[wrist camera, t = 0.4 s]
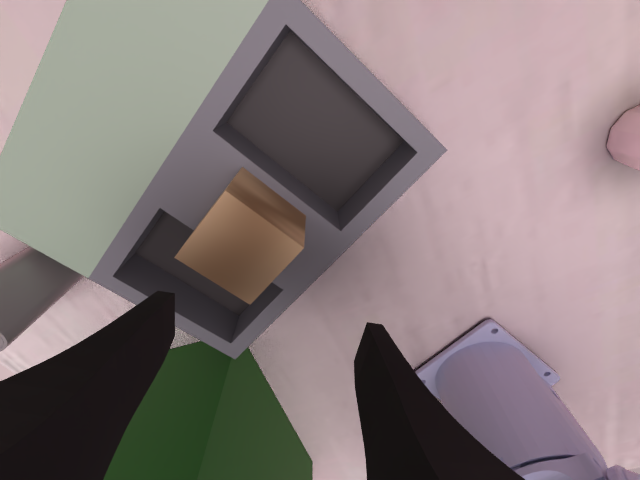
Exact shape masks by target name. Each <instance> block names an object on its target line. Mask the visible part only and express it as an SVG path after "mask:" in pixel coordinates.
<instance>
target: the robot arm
mask: <svg viewBox="0 0 640 480" xmlns="http://www.w3.org/2000/svg"><path fill="white" fill-rule="evenodd" d="M492 329H494V330H492ZM174 336H175V293H170V292H164V291H156V292H155V293H153V294H152V295H151V296H149V297H148V298H146V299H145V300H143V301H142V302H141V303H139V304H138V305H136V306H135V307H133V308H132V309H131V310H129V311H128V312H126V313H125V314H123V315H122V316H120V317H119V318H117V319H116V320H114V321H113V322H111V323H110V324H109V325H107V326H105V327H104V328H102V329H101V330H99V331H97V332H96V333H94V334H93V335H91V336H89V337H88V338H86V339H84V340H83V341H81V342H79V343H78V344H76V345H74V346H72V347H71V348H69V349H67V350H65V351H63V352H61V353H59V354H58V355H56V356H54V357H52V358H50V359H48V360H46V361H44V362H42V363H40V364H38V365H35V366H33V367H31V368H29V369H27V370H24V371H22V372H20V373H18V374H16V375H14V376H11V377H9V378H7V379H5V380H3V381H0V480H103V479H104V477H105V474H106V472H107V470H108V467H109V465H110V463H111V461H112V458H113V456H114V454H115V452H116V450H117V447H118V445H119V443H120V441H121V439H122V436H123V434H124V432H125V430H126V428H127V426H128V425H129V423H130V421H131V419H132V417H133V415H134V414H135V412H136V410H137V408H138V407H139V405H140V403H141V401H142V400H143V398H144V396H145V394H146V393H147V391H148V389H149V387H150V386H151V384H152V382H153V380H154V379H155V377H156V375H157V373H158V371H159V370H160V368H161V366H162V364H163V362H164V360H165V358H166V356H167V354H168V351H169V349H170V346H171V344H172V341H173V339H174ZM354 375H355V390H356V397H357V403H358V410H359V416H360V422H361V429H362V435H363V441H364V448H365V457H366V469H367V480H640V475H639V474H637V473H635V472H632V471H629V470H626V469H625V468H623V467H621V466H619V465H615V466H613V467H610V468H607V465H606V463H605V460H604V459H603V457H602V455H601V453H600V452H599V450H598V449H597V448H596V446H595V445H594V444H593V442H592V441H591V439H590V438H589V437H588V435H587V434H586V433H585V431H584V430H583V429H582V427H581V426H580V425H579V423H578V422H577V421H576V419H575V418H574V416H573V415H572V414H571V412H570V411H569V410H568V408H567V407H566V406H565V404H564V403H563V402H562V400H561V399H560V397H559V396H558V395H557V393H556V392H555V391H554V389H553V388H552V387H551V386H552V385H553V384H555V383H557V382H558V381H559V380H560V376H559V375H558V374H557V373H556V372H555V371H554V370H553V369H552V368H550V367H549V366H548V365H547V364H546V363H544V362H543V361H542V360H541V359H540V358H538V357H537V356H536V355H535V354H534V353H532V352H531V351H530V350H529V349H528V348H526V347H525V346H524V345H523V344H522V343H520V342H519V341H518V340H517V339H516V338H514V337H513V336H512V335H511V334H510V333H508V332H507V331H506V330H505V329H504V328H502V327H501V326H500V325H499V324H498V323H496V322H495V321H494V320H492V319H488V320H485V321H484V322H482V323H481V324H480V325H478V326H477V327H476V328H474V329H473V330H471V331H470V332H469V333H467V334H466V335H465V336H463V337H462V338H460V339H459V340H458V341H456V342H455V343H454V344H452V345H451V346H449V347H448V348H447V349H445V350H444V351H443V352H441V353H440V354H438V355H437V356H436V357H434V358H433V359H432V360H430V361H429V362H428V363H426V364H425V365H423V366H422V367H421V368H419V369H418V370H417V371H415V372H414V370H413V369H412V367H411V366H410V365H409V363H408V362H407V360H406V359H405V358H404V356H403V355H402V353H401V352H400V350H399V349H398V347H397V346H396V344H395V343H394V341H393V340H392V338H391V337H390V335H389V334H388V332H387V331H386V329H385V328H384V326H383V325H381V324H375V323H368V322H367V324H366V327H365V330H364V333H363V336H362V339H361V342H360V345H359V348H358V351H357V354H356V357H355V360H354ZM435 397H437V398H438V399H440V400H441V401H442V404H443V405H442V404H441V403H440V402H439V401H438V400H437V399H436V398H435Z"/></svg>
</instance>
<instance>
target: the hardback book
mask: <svg viewBox="0 0 640 480" xmlns="http://www.w3.org/2000/svg"><path fill="white" fill-rule="evenodd" d="M103 480H312V460H311V458H310V457H309V455H308V453H307V451H306V449H305V448H304V446H303V444H302V442H301V441H300V439H299V437H298V435H297V433H296V432H295V430H294V428H293V426H292V425H291V423H290V421H289V419H288V417H287V416H286V414H285V412H284V410H283V409H282V407H281V405H280V403H279V401H278V400H277V398H276V396H275V394H274V393H273V391H272V389H271V387H270V385H269V384H268V382H267V380H266V378H265V377H264V375H263V373H262V371H261V369H260V368H259V366H258V364H257V362H256V361H255V359H254V357H253V355H252V353H251V352H250V350H249V348H248V347H247V348H246V349H245V350H244V351H243V352H242V353H241V354H240V355H239V356H238V357H237V358H236V359H233V358H232V357H230V356H228V355H226V354H224V353H222V352H221V351H219V350H217V349H215V348H213V347H212V346H210V345H208V344H206V343H204V342H203V341H200V342H196V343H192V344H188V345H184V346H181V347H177V348H173V349H169V351H168V354H167V356H166V358H165V360H164V362H163V364H162V366H161V368H160V370H159V371H158V373H157V375H156V377H155V379H154V380H153V382H152V384H151V386H150V387H149V389H148V391H147V393H146V394H145V396H144V398H143V400H142V401H141V403H140V405H139V407H138V408H137V410H136V412H135V414H134V415H133V417H132V419H131V421H130V423H129V425H128V426H127V428H126V430H125V432H124V434H123V436H122V439H121V441H120V443H119V445H118V447H117V450H116V452H115V454H114V456H113V458H112V461H111V463H110V465H109V467H108V470H107V472H106V474H105V477H104V479H103Z"/></svg>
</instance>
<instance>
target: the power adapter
mask: <svg viewBox="0 0 640 480" xmlns="http://www.w3.org/2000/svg"><path fill="white" fill-rule="evenodd" d="M83 277H84V276H83V275H81V274H79V273H78V272H76V271H74V270H72V269H70V268H69V267H67V266H65V265H63V264H61V263H59V262H58V261H56V260H54V259H52V258H50V257H49V256H47V255H45V254H43V253H41V252H40V251H38V250H36V249H34V248H32V247H31V246H29V247H28V248H26V249H24V250H22V251H21V252H19V253H17V254H15V255H13V256H12V257H10V258H9V259H7V260H5V261H4V262H2V263H1V264H0V351H2V350H4V349H5V348H6V347H7V346H8V345H10V344H11V343H12V342H13V341H14V340H15V339H16V338H17V337H18V336H19V335H20V334H22V333H23V332H24V331H25V330H26V329H27V328H28V327H29V326H30V325H31V324H32V323H34V322H35V321H36V320H37V319H38V318H39V317H40V316H41V315H42V314H43V313H44V312H46V311H47V310H48V309H49V308H50V307H51V306H52V305H53V304H54V303H55V302H57V301H58V300H59V299H60V298H61V297H62V296H63V295H64V294H65V293H66V292H67V291H69V290H70V289H71V288H72V287H73V286H74V285H75V284H76V283H77V282H78V281H79V280H81V279H82V278H83Z"/></svg>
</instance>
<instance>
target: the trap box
mask: <svg viewBox="0 0 640 480" xmlns="http://www.w3.org/2000/svg"><path fill="white" fill-rule="evenodd" d="M446 151H447V149H446V148H445V147H444V146H443V145H442V144H441V143H440V142H439V141H438V140H437V139H436V138H435V137H434V136H433V135H432V134H431V133H430V132H429V131H428V130H427V129H426V128H425V127H424V126H423V125H422V124H421V123H420V122H419V121H418V120H417V119H416V118H415V117H414V116H413V115H412V114H411V113H410V112H409V111H408V110H407V109H406V108H405V106H404V105H403V104H402V103H401V102H400V101H399V100H398V99H397V98H396V97H395V96H394V95H393V94H392V93H391V92H390V91H389V90H388V89H387V88H386V87H385V86H384V85H383V84H382V83H381V82H380V81H379V80H378V79H377V78H376V77H375V76H374V75H373V74H372V73H371V72H370V71H369V70H368V69H367V68H366V67H365V66H364V65H363V64H362V63H361V62H360V61H359V60H358V59H357V58H356V56H355V55H354V54H353V53H352V52H351V51H350V50H349V49H348V48H347V47H346V46H345V45H344V44H343V43H342V42H341V41H340V40H339V39H338V38H337V37H336V36H335V35H334V34H333V33H332V32H331V31H330V30H329V29H328V28H327V27H326V26H325V25H324V24H323V23H322V22H321V21H320V20H319V19H318V18H317V17H316V16H315V15H314V14H313V13H312V12H311V11H310V10H309V9H308V8H307V6H306V5H305V4H304V3H303V2H302V1H301V0H67V1H66V3H65V5H64V8H63V10H62V12H61V15H60V17H59V19H58V22H57V24H56V26H55V29H54V31H53V33H52V36H51V38H50V40H49V43H48V45H47V47H46V50H45V52H44V55H43V57H42V59H41V62H40V64H39V66H38V69H37V71H36V73H35V76H34V78H33V80H32V83H31V85H30V87H29V90H28V92H27V94H26V97H25V99H24V101H23V104H22V106H21V108H20V111H19V113H18V115H17V118H16V120H15V122H14V125H13V127H12V130H11V132H10V134H9V137H8V139H7V141H6V144H5V146H4V148H3V151H2V153H1V155H0V230H2V231H3V232H5V233H7V234H9V235H11V236H12V237H14V238H16V239H18V240H20V241H21V242H23V243H25V244H27V245H29V246H31V247H32V248H34V249H36V250H38V251H40V252H41V253H43V254H45V255H47V256H49V257H50V258H52V259H54V260H56V261H58V262H59V263H61V264H63V265H65V266H67V267H69V268H70V269H72V270H74V271H76V272H78V273H79V274H81V275H83V276H85V277H87V278H88V279H90V280H92V281H94V282H96V283H98V284H99V285H101V286H103V287H105V288H107V289H108V290H110V291H112V292H114V293H116V294H117V295H119V296H121V297H123V298H125V299H126V300H128V301H130V302H132V303H134V304H136V305H138V304H139V303H141V302H142V301H143V300H145V299H146V298H148V297H149V296H151V295H152V294H153V293H155V292H156V291H164V292H170V293H175V327H177V328H179V329H181V330H183V331H184V332H186V333H188V334H190V335H192V336H193V337H195V338H197V339H199V340H201V341H203V342H204V343H206V344H208V345H210V346H212V347H213V348H215V349H217V350H219V351H221V352H222V353H224V354H226V355H228V356H230V357H232V358H233V359H236V358H237V357H238V356H239V355H240V354H241V353H242V352H243V351H244V350H245V349H246V348H247V347H248V346H249V345H250V344H251V343H252V342H253V341H254V340H255V339H256V338H257V337H259V336H260V335H261V334H262V333H263V332H264V331H265V330H266V329H267V328H268V327H269V326H270V325H271V324H272V323H273V322H274V321H275V320H276V319H277V318H278V317H279V316H280V315H281V314H282V313H283V312H284V311H285V310H286V309H287V308H288V307H289V306H290V305H291V304H292V303H293V302H294V301H295V300H296V299H297V298H298V297H299V296H300V295H301V294H302V293H303V292H304V291H305V290H306V289H307V288H308V287H309V286H310V285H311V284H312V283H313V282H314V281H315V280H316V279H317V278H318V277H319V276H320V275H321V274H322V273H323V272H324V271H325V270H326V269H327V268H328V267H329V266H330V265H331V264H332V263H334V262H335V261H336V260H337V259H338V258H339V257H340V256H341V255H342V254H343V253H344V252H345V251H346V250H347V249H348V248H349V247H350V246H351V245H352V244H353V243H354V242H355V241H356V240H357V239H358V238H359V237H360V236H361V235H362V234H363V233H364V232H365V231H366V230H367V229H368V228H369V227H370V226H371V225H372V224H373V223H374V222H375V221H376V220H377V219H378V218H379V217H380V216H381V215H382V214H383V213H384V212H385V211H386V210H387V209H388V208H389V207H390V206H391V205H392V204H393V203H394V202H395V201H396V200H397V199H398V198H399V197H400V196H401V195H402V194H403V193H404V192H405V191H406V190H408V189H409V188H410V187H411V186H412V185H413V184H414V183H415V182H416V181H417V180H418V179H419V178H420V177H421V176H422V175H423V174H424V173H425V172H426V171H427V170H428V169H429V168H430V167H431V166H432V165H433V164H434V163H435V162H436V161H437V160H438V159H439V158H440V157H441V156H442V155H443V154H444V153H445V152H446ZM242 167H243V168H245V169H246V170H247V171H249V172H250V173H251V174H252V175H254V176H255V177H256V178H258V179H259V180H260V181H262V182H263V183H264V184H265V185H267V186H268V187H269V188H271V189H272V190H273V191H275V192H276V193H277V194H278V195H280V196H281V197H282V198H284V199H285V200H286V201H288V202H289V203H290V204H291V205H293V206H294V207H295V208H297V209H298V210H299V211H301V212H302V213H303V214H304V215H306V224H305V241H304V249H303V250H302V251H301V252H300V253H299V254H298V255H297V256H296V257H295V258H294V259H293V260H292V261H291V262H290V263H289V264H288V266H287V267H286V268H285V269H284V270H283V271H282V272H281V273H280V274H279V275H278V276H277V277H276V278H275V279H274V280H273V281H272V282H271V283H270V285H269V286H268V287H267V288H266V289H265V290H264V291H263V292H262V293H261V294H260V295H259V296H258V297H257V298H256V299H255V300H254V301H253V302H252V304H251V305H250V304H248V303H246V302H245V301H243V300H241V299H240V298H238V297H237V296H235V295H233V294H232V293H230V292H229V291H227V290H225V289H224V288H222V287H221V286H219V285H217V284H216V283H214V282H213V281H211V280H209V279H208V278H206V277H205V276H203V275H201V274H200V273H198V272H196V271H195V270H193V269H192V268H190V267H188V266H187V265H185V264H184V263H182V262H180V261H179V260H177V259H176V258H174V257H175V256H176V255H177V253H178V252H179V250H180V249H181V248H182V246H183V245H184V244H185V242H186V241H187V239H188V238H189V237H190V235H191V234H192V233H193V231H194V230H195V229H196V227H197V226H198V224H199V223H200V222H201V220H202V219H203V218H204V217H205V215H206V214H207V213H208V211H209V210H210V209H211V207H212V206H213V205H214V203H215V202H216V201H217V199H218V198H219V197H220V195H221V194H222V193H223V191H224V190H225V189H226V188H227V186H228V185H229V184H230V182H231V181H232V180H233V178H234V177H235V176H236V174H237V173H238V172H239V170H240V169H241V168H242Z"/></svg>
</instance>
